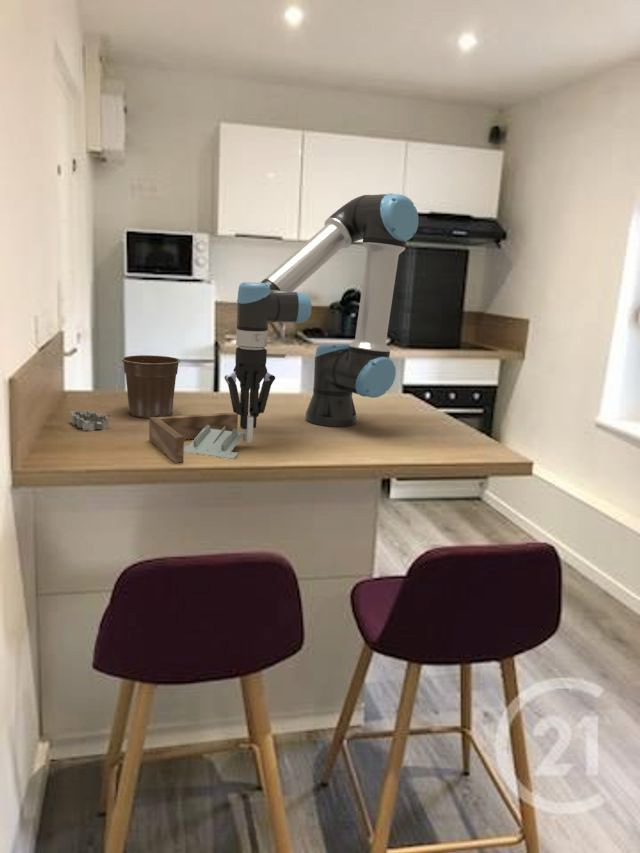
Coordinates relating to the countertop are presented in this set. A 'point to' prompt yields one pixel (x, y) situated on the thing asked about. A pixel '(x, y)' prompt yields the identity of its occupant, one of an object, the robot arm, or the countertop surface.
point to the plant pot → (150, 384)
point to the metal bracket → (215, 442)
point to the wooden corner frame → (185, 430)
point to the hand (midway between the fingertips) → (247, 440)
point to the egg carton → (90, 420)
